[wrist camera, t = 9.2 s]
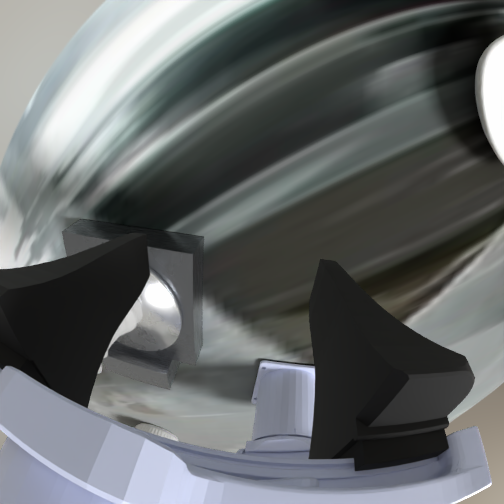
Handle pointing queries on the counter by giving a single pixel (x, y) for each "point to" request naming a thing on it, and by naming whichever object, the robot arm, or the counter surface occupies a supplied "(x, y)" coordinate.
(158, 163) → the counter surface
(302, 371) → the robot arm
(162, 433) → the ramekin
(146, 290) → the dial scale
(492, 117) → the spoon rest
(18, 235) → the counter surface
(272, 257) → the counter surface
